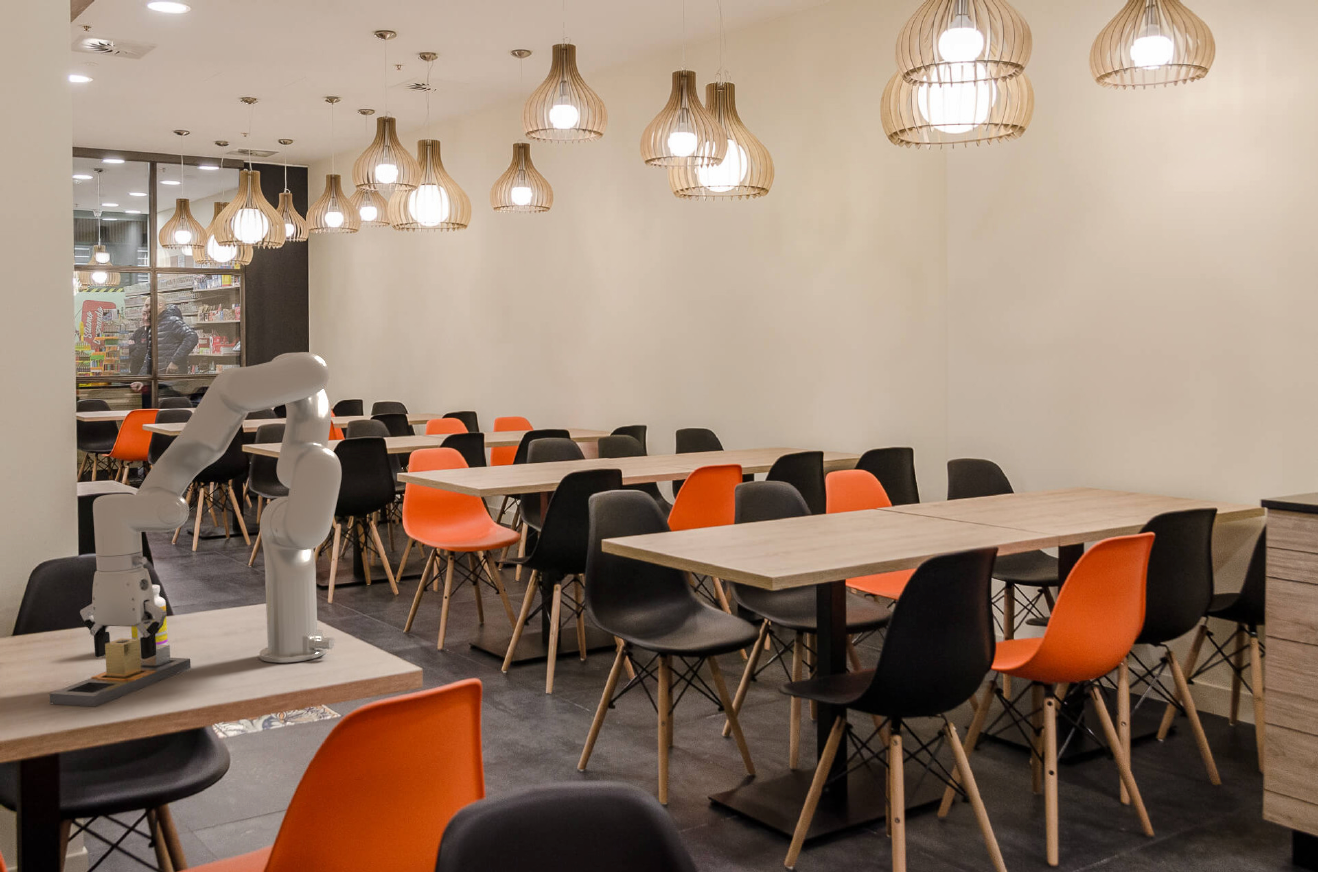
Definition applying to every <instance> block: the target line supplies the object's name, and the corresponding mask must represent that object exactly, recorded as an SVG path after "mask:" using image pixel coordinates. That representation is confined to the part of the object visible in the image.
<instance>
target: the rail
mask: <svg viewBox="0 0 1318 872" xmlns="http://www.w3.org/2000/svg"><path fill="white" fill-rule="evenodd" d="M191 666H192V665H191V658H188V657H187V658H186V657H185V658H184V657H170V663H169V664H166V665H164V666H161V667H159V668H144V667H141V673H140V674H138V675H135V676H133V677H130V678H127V679H118V678H107V675H106V671H104V672H100V673H99V674H95V675H93V676H91V677H90V678H88V679H85V680H82V681H79V682H77V683H74V684H71V685H69V686H67V687H63V688H60V689H58V690H55V691H52V692H50V693H49V704H50V703H54V704H53V705H60V704H63V705H64V706H75V705H80V706H79V707H91V708H92V707H93V708H95V707H97V705H98V706H100V705H103V704H105V703H108V702H110V701H113V700H116V699H118V698H120V697H122V696H125V695H127V694H130V693H132V692H135V691H137V690H139V689H143V688H145V687H147V686H150V685H152V684H154V683H157V682H160V681H162V680H165V679H167V678H168V677H171V676H174V675H177V674H179V673H182V672H184V671H187V670H188V669H189V670H190V669H191V668H192V667H191Z"/></svg>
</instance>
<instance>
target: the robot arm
mask: <svg viewBox="0 0 1318 872" xmlns="http://www.w3.org/2000/svg"><path fill="white" fill-rule="evenodd" d="M329 379H330V370H329V367H328V365H327V363H326V361H325V359H324V358H322V357H320V356H319V355H318V354H316V353H314V352H308V351H305V352H304V351H300V352H286V353H282V354H279V355H277V356H275V357H274V358H273V359H272V360H271V361H267V362H263V363H259V364H255V365H250V366H244V367H243V366H242V367H241V366H239V367H238V366H237V367H229V368H226V369H224V370H222V371H220V372H219V373H218V374H217V375H216V377H214V379H213V381H212V382H211V383H210V385H209V387H208V388H207V390H206V392H205V393H204V395H203V396H202V398H201V400H200V402H199V403H198V405H197V406H196V408H195V409H194V411H193V413H192V414H191V415H190V417H189V419H188V421H187V422H186V423H185V425H184V427H183V428H182V430H181V431H180V433H179V434H178V435H177V436H176V437H175V439H173V441H172V442H171V443H170V445H169V446H168V448H166V449H165V450H164V452H163V453H162V454H161V456H160V457H159V458H158V459H157V461H155V462H154V464H153V466H152V467H151V469H150V470H149V472H148V473H147V475H146V477H145V478H144V480H143V482H142V483H141V484H140V486H139V487H138V489H137V492H135V494H131V493H114V494H113V493H111V494H105V495H101V496H98V497H96V498H95V499H94V500H93V503H92V513H93V514H92V515H93V527H94V530H93V531H94V532H93V533H94V545H95V560H96V562H95V563H96V571H95V572H94V575H93V583H92V598H91V599H92V603H91V604H89V605H87V606H85V607H83V608H82V609H80V611H79V613H80V615H81V617H82V620H83V621H84V625H85V627H86V628H87V629H88V630H89V634H90V635H91V636H93V643H94V644H93V645H94V657H95V658H101V657H103V656H106V652H105V644H106V643H109V642H111V637H110V631H107V630H108V628H109V627H122V628H123V627H128V628H129V627H130V628H131V627H135V626H136V627H137V629H138V630H139V631H140V632H141V634H142V635H143V636H144V637H141V638H140V646H141V658H142V659H147V658H150V657H153V656H155V655H156V636H155V634H157V633H158V632H159V629H160V628H161V627H162V626H163V622H164V620H165V617H166V618H167V614H168V613H167V610H166V611H165V610H163V609H162V608H160V607H158V606H156V605H155V600H154V593H153V587H152V585H153V583H152V579H151V576H150V573H149V570H148V568H145V567H144V565H146V564H147V562H148V558H147V557H146V556H144V555H143V542H142V541H143V540H142V538H143V537H142V533H143V532H145V533H147V532H148V533H150V532H151V533H153V532H154V533H157V532H158V533H167V532H168V533H169V532H173V531H176V530H178V529H179V528H181V527H182V526H183V525H185V523H186V522H187V521H188V518H189V516H190V507H189V503H188V501H187V500H186V499H185V498H184V497H183V494H184V493H185V491H186V490H187V488H188V487H189V486H190V485H191V483H192V482H193V480H194V479H195V477H196V476H198V475H199V474H200V473H201V472H202V471H203V470H204V469H206V468H207V467H208V466H211V465H212V464H214V463H215V462H217V461H218V460H219V459H220V458H221V457H222V456H223V455H224V454H225V453H226V451H227V450H228V448H229V446H230V445H231V443H232V441H233V439H234V438H235V436H236V435H237V433H238V432H239V429H240V428H241V426H242V425H243V423H244V421H245V420H246V418H247V416H248V415H249V413H256V412H259V411H264V410H268V409H272V408H277V407H280V406H283V405H285V409H286V419H285V424H284V427H285V428H284V432H283V437H282V442H281V447H280V451H279V454H278V459H277V463H276V475H277V478H278V481H279V482H280V484H282V485H283V486H284V487H286V488H287V489H289V490H288V496H281V497H277V498H275V499H273V500H271V501H270V502H269V503H267V505H266V506H265V507H264V508H263V509H262V513H261V515H260V518H259V519H260V521H259V531H260V538H261V545H262V549H263V557H264V559H263V560H264V575H265V577H264V579H265V581H264V582H265V583H264V584H265V601H266V602H265V605H266V607H265V609H266V610H265V611H266V632H267V633H266V635H267V640H266V641H267V647H265V648H263V649H261V650H260V651H259V658H260V660H261V661H264V662H268V663H297V662H304V661H309V660H313V659H317V658H320V657H321V656H324V655H326V653H327V650H333V648H335V647H334V646H335V638H334V637H325V636H323V635H324V634H323V629H321V630H320V629H318V607H317V606H318V605H317V603H318V602H317V578H316V577H317V568H316V567H317V566H316V558H315V551H314V549H316V548H317V547H319V546H320V545H322V544H323V542H325V541H326V539H327V538H328V536H329V534H330V531H331V528H332V525H333V523H334V522H333V521H334V517H335V513H336V508H337V502H338V499H339V494H340V489H341V482H342V476H343V475H342V473H343V472H342V465H341V461H340V459H339V457H338V456H337V454H336V453H335V452H334V451H333V450H332V449H331V448H329V447H328V443H329V438H330V430H331V425H332V424H331V423H332V406H331V403H330V400H329V396H328V394H327V392H326V390H325V387H326V386H327V384H328V383H329ZM153 620H154V622H152V621H153ZM145 625H146V626H147V627H146V626H145ZM147 628H148V629H147Z"/></svg>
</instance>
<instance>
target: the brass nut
mask: <svg viewBox="0 0 1318 872" xmlns="http://www.w3.org/2000/svg"><path fill="white" fill-rule="evenodd" d="M105 652H106V655H105V672H106V675H107V678H118V679H127V678H130V677H133V676H135V675H138V674H140V673H141V655H140V639H132V638H123V637H122V638H121V637H120V638H119V639H116V640H112V641H110V642H109V643H106V644H105Z"/></svg>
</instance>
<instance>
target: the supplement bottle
mask: <svg viewBox="0 0 1318 872" xmlns="http://www.w3.org/2000/svg"><path fill="white" fill-rule="evenodd" d="M152 587H153V593H154V600H155V605H156V606H158V607H160V608H162V609H163V610H165V611H166V612H167V605H166V603H167V602H166V600H165V598H163V597H161V596H160V591H161V586H160V585H159V584H152ZM152 622H154V620H153V621H152ZM167 622H168V621H167V616H166V617H165V620H164V622H163V626H162V627H161V628H160V629H159V632H158V633H157V634H155V636H156V644H157V645H169V642H168V623H167ZM145 626H146V625H145ZM146 627H147V626H146ZM130 628H131V629H130V630H131V639H140V638H141V637H144V636H143V635H142V634H141V632H140V631H139V630H138V629H137V627H136V626H135V627H130ZM147 629H148V628H147ZM140 648H141V646H140Z"/></svg>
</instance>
